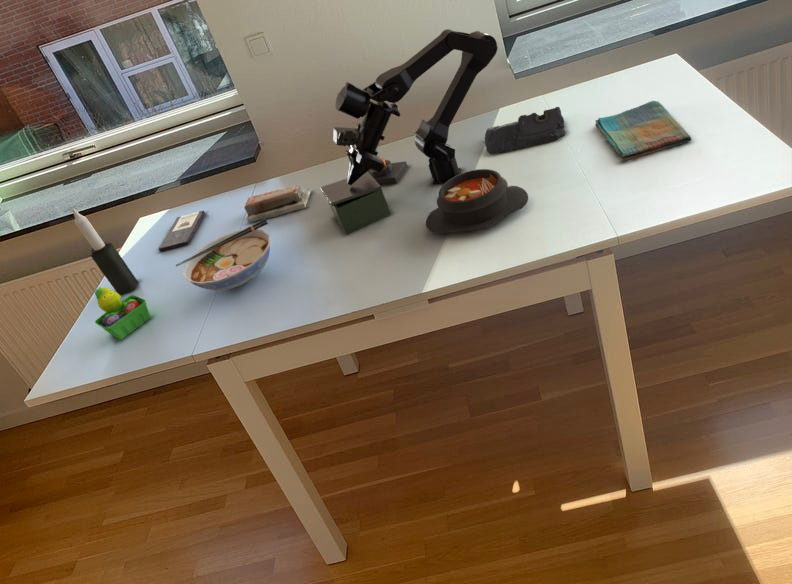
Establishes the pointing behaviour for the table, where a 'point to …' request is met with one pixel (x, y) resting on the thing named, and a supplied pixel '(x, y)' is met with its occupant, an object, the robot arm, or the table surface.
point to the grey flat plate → (349, 189)
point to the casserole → (474, 202)
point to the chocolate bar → (182, 231)
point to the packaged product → (276, 203)
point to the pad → (389, 173)
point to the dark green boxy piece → (360, 211)
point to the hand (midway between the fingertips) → (349, 184)
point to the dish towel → (642, 130)
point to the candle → (107, 258)
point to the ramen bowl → (229, 259)
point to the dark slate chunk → (525, 132)
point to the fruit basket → (120, 312)
